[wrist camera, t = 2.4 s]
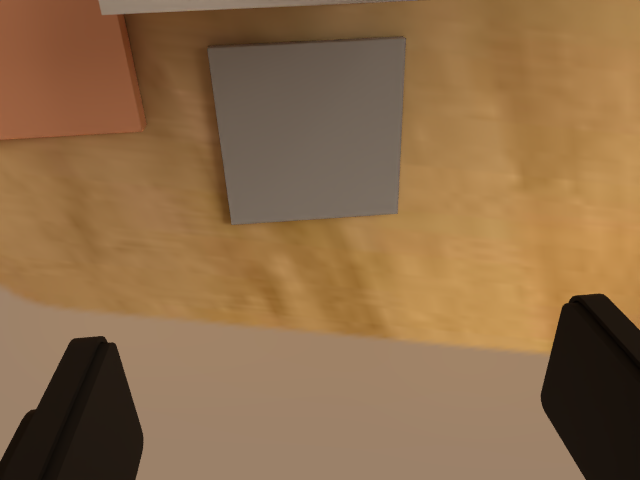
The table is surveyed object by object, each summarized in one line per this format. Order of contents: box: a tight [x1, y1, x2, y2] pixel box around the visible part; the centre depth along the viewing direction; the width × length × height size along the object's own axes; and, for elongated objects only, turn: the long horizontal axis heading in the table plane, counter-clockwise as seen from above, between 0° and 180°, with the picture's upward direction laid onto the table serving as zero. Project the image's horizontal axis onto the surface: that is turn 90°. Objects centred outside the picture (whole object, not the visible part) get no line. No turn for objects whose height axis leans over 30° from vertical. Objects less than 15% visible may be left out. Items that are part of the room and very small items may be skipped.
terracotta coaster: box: [0, 0, 147, 140], centre depth 22 cm, size 10×10×1 cm
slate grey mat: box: [207, 36, 406, 225], centre depth 26 cm, size 9×9×1 cm
